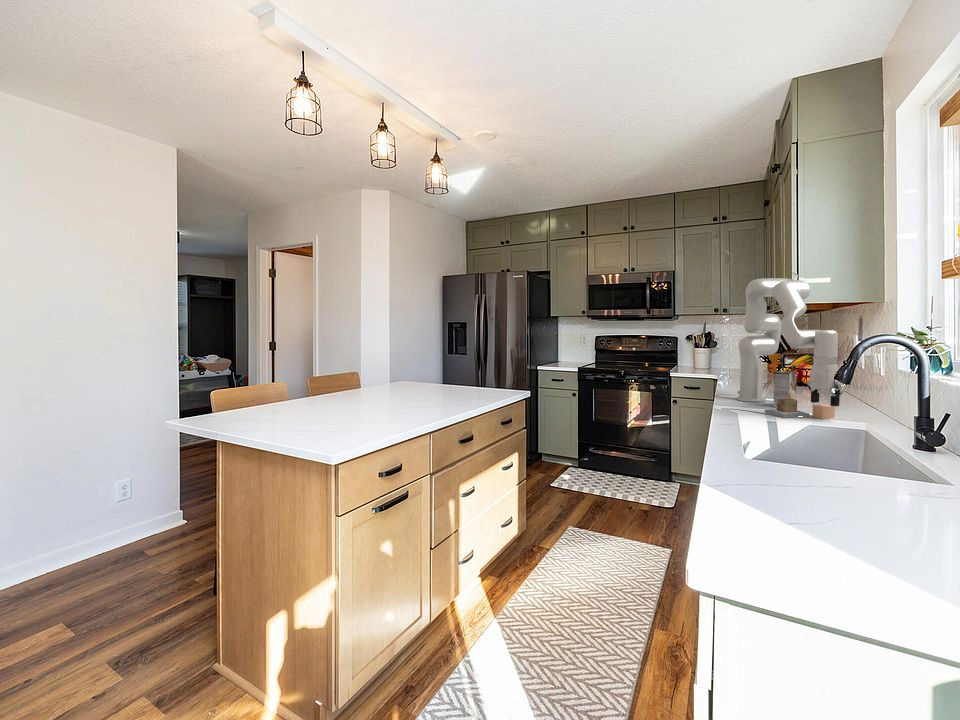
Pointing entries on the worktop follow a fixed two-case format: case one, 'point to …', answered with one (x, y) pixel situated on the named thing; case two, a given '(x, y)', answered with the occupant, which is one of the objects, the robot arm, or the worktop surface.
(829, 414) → the terracotta block
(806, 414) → the slate blueprint mat
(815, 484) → the worktop surface
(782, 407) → the walnut block
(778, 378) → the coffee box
